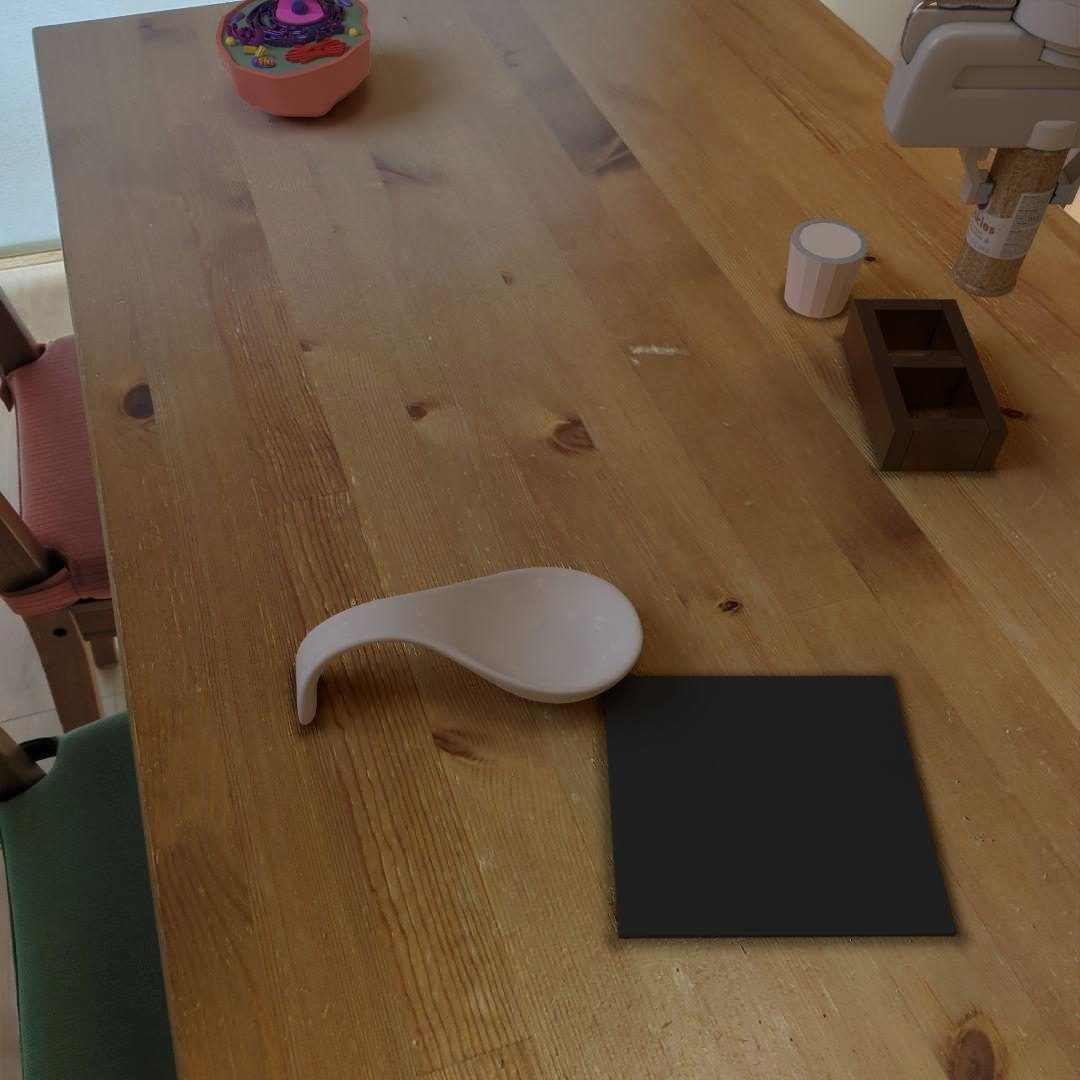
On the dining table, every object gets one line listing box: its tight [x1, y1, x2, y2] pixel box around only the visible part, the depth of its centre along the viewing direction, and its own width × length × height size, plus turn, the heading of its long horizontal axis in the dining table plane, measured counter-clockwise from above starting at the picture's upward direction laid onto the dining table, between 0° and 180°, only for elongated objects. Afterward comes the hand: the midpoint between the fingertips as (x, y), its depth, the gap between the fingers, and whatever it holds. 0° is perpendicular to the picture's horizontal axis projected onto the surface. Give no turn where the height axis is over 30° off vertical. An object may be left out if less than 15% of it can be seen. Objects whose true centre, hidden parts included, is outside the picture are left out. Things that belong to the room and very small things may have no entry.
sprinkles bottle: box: [950, 120, 1079, 299], centre depth 74 cm, size 5×5×13 cm
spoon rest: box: [295, 566, 644, 726], centre depth 74 cm, size 24×12×7 cm, turn 102°
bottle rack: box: [841, 298, 1010, 473], centre depth 94 cm, size 9×16×5 cm, turn 1°
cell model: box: [215, 0, 372, 118], centre depth 122 cm, size 17×20×11 cm
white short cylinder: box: [784, 218, 869, 319], centre depth 102 cm, size 7×7×7 cm
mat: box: [603, 675, 958, 939], centre depth 71 cm, size 20×18×1 cm
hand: (1014, 200), depth 74 cm, fingers closed on sprinkles bottle, 4 cm apart
